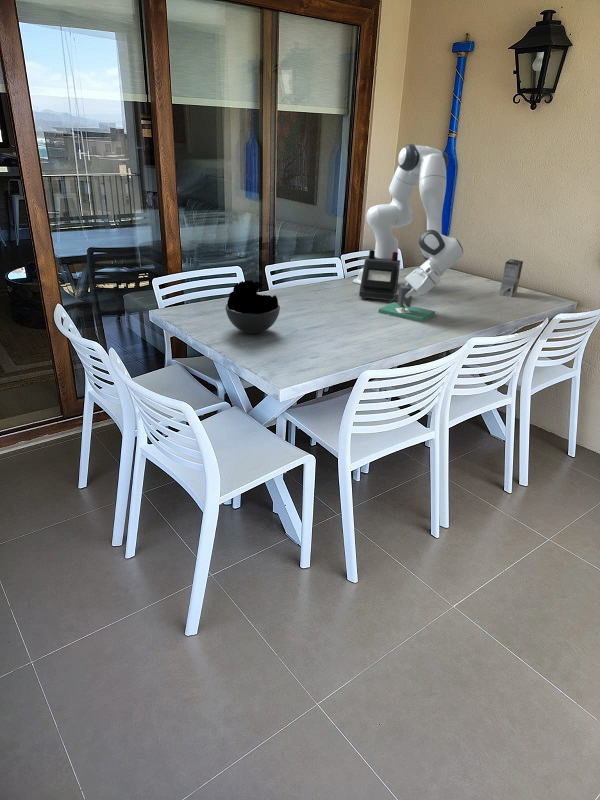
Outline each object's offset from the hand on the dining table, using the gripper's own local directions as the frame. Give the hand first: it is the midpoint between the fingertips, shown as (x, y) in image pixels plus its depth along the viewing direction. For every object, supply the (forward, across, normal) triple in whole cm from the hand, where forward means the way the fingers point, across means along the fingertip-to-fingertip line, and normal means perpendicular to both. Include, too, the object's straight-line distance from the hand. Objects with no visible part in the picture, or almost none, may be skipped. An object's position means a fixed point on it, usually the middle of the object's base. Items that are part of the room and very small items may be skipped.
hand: (403, 294), depth 228 cm
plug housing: (+3, 0, +4) cm, 5 cm away
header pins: (+4, 0, +5) cm, 7 cm away
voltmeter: (+9, -27, +3) cm, 28 cm away
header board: (+4, -1, +8) cm, 9 cm away
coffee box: (-38, -35, +50) cm, 73 cm away
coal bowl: (+51, +25, -39) cm, 68 cm away
